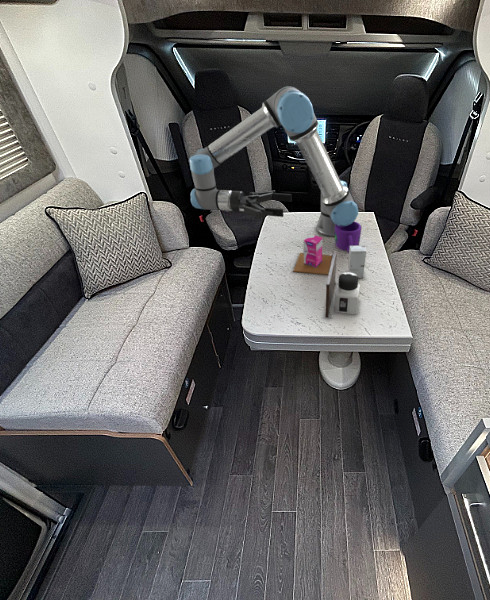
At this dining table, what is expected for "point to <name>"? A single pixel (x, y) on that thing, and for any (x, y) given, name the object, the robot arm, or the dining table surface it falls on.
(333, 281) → the backboard
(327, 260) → the cork mat
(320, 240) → the supplement box
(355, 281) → the container
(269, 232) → the dining table surface
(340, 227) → the mug
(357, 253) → the cosmetic box
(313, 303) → the dining table surface
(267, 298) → the dining table surface
